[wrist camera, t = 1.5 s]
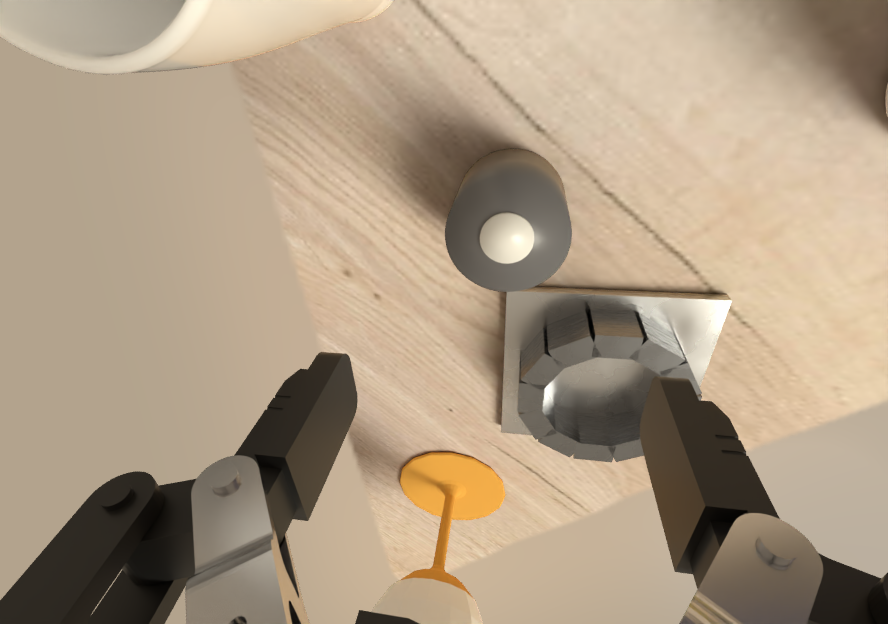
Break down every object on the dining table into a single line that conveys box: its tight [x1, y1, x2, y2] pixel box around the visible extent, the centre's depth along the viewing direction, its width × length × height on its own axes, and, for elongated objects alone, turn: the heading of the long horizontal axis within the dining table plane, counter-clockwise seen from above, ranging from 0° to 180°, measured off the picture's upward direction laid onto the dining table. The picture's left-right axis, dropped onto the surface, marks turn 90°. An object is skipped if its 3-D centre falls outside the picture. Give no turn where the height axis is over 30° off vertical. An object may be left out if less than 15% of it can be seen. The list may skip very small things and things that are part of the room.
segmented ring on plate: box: [501, 287, 732, 462], centre depth 27 cm, size 12×12×3 cm
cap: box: [445, 149, 572, 292], centre depth 22 cm, size 6×6×5 cm
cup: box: [372, 452, 505, 624], centre depth 31 cm, size 9×9×16 cm
